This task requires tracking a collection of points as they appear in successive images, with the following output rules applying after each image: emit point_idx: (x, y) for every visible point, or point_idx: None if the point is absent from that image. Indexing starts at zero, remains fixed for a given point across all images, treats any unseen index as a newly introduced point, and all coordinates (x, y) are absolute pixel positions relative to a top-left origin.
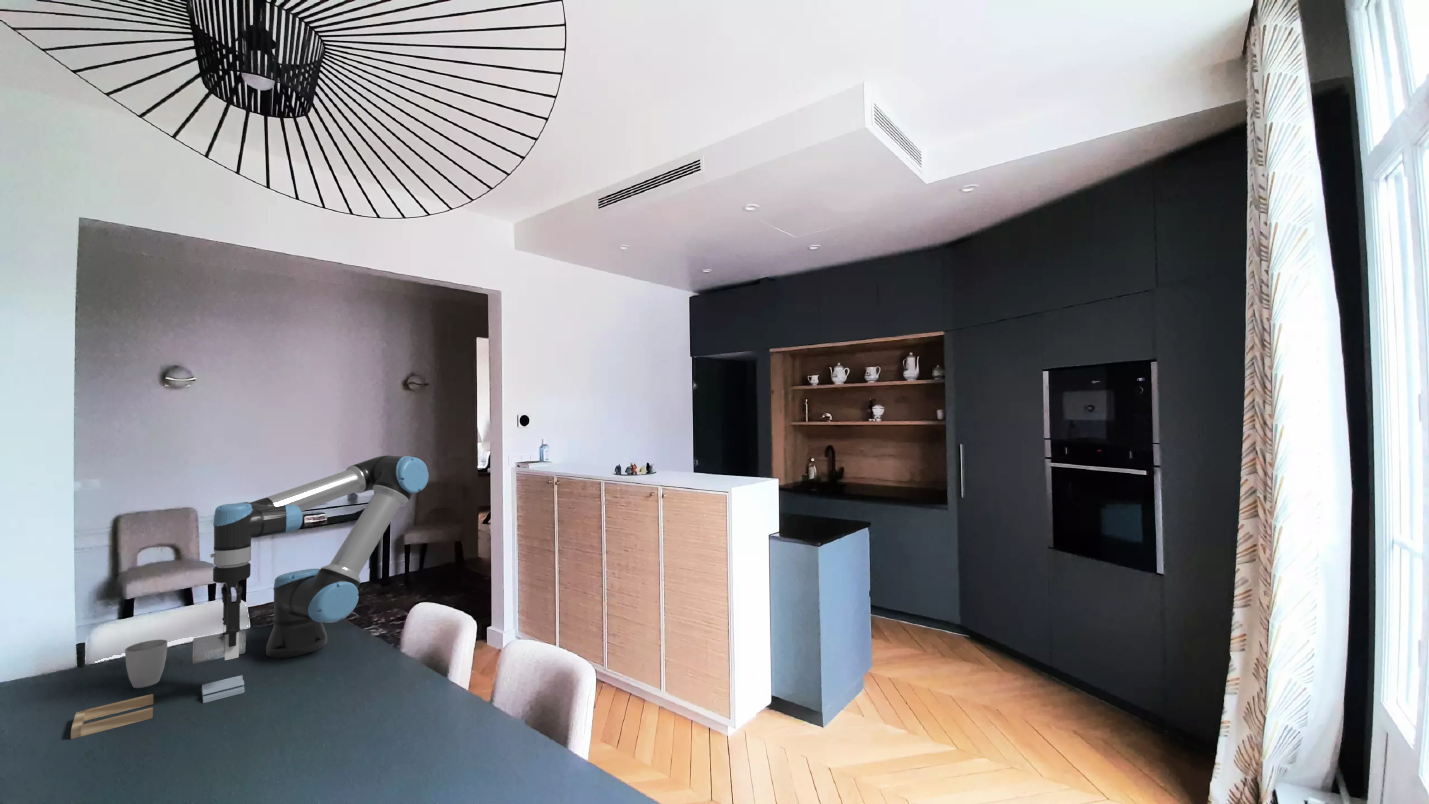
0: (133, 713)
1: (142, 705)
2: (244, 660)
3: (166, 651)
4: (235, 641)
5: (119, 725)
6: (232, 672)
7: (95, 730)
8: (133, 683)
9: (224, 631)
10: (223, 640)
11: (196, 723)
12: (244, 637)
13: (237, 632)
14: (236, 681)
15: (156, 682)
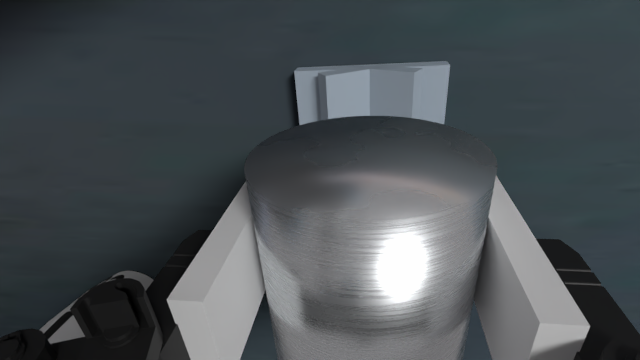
0: None
1: None
2: (25, 46)
3: (61, 338)
4: (590, 278)
5: None
6: (156, 94)
7: None
8: None
9: (246, 338)
10: (459, 342)
11: (624, 216)
12: (490, 194)
13: (577, 331)
14: (355, 96)
15: (148, 278)
